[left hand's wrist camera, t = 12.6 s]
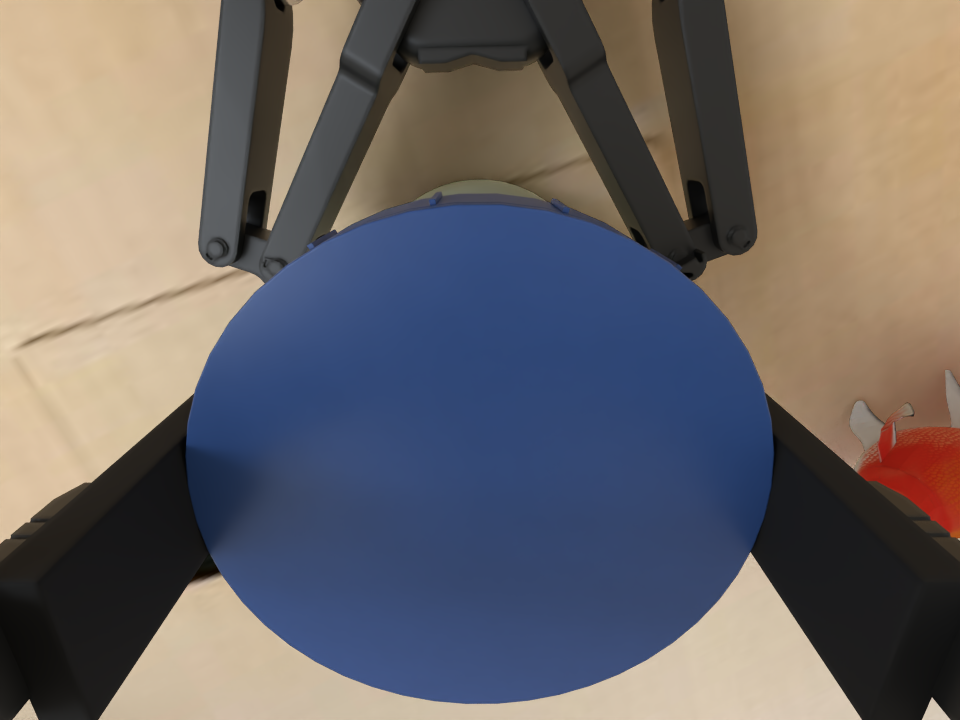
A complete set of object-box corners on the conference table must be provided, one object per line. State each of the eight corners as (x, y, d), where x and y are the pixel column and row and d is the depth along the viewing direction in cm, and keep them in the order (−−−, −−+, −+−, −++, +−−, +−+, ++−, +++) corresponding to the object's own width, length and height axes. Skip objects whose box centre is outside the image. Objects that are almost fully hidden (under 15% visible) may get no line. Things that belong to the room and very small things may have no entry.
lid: (335, 83, 10) (297, 66, 8) (829, 339, 12) (905, 380, 10) (179, 536, 13) (125, 606, 11) (571, 675, 15) (585, 758, 13)
